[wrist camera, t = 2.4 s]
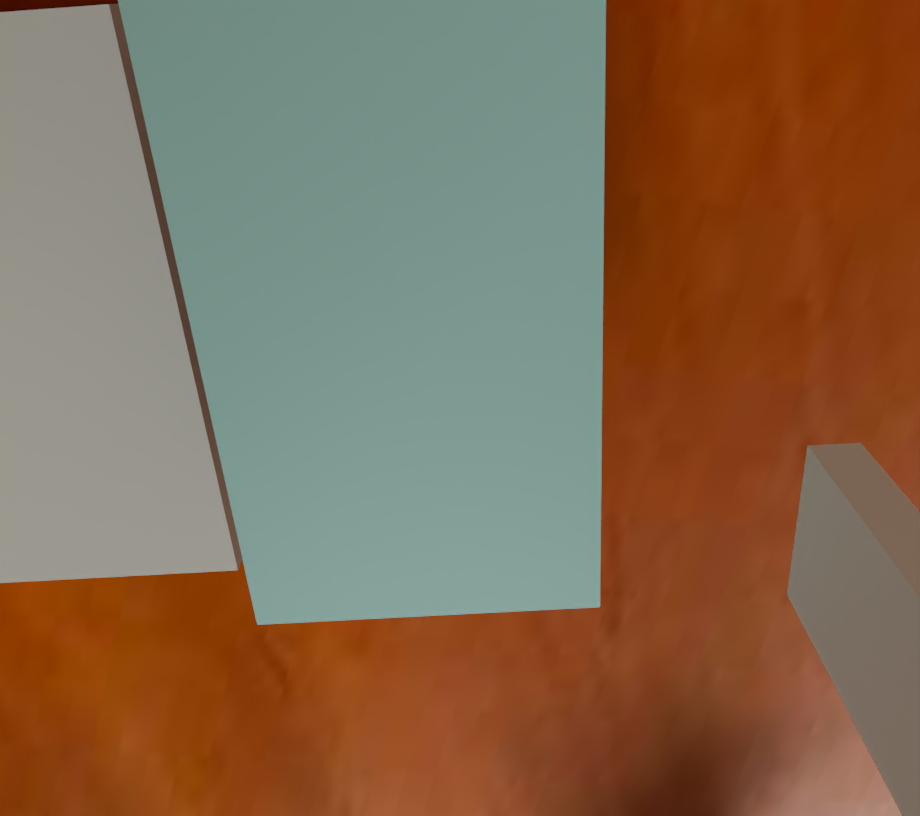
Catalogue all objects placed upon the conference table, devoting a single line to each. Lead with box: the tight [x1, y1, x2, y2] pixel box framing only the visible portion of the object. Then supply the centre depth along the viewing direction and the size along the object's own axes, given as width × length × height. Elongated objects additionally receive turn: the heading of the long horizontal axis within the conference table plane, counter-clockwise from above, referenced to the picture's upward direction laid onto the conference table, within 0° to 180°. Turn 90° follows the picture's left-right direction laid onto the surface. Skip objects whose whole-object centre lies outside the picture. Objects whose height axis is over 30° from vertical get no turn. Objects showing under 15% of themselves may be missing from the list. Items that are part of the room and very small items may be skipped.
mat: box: [0, 4, 242, 583], centre depth 29 cm, size 12×20×1 cm, turn 4°
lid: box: [118, 0, 606, 625], centre depth 21 cm, size 10×17×2 cm, turn 4°
